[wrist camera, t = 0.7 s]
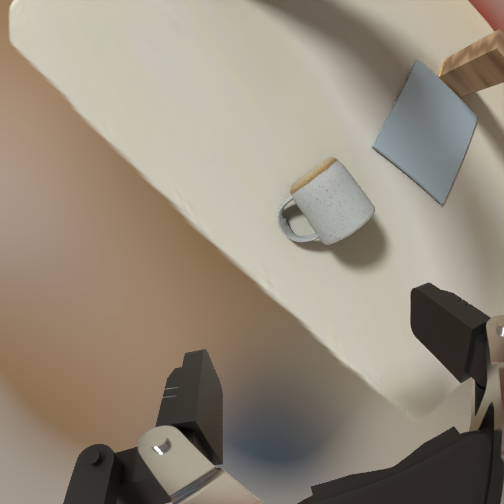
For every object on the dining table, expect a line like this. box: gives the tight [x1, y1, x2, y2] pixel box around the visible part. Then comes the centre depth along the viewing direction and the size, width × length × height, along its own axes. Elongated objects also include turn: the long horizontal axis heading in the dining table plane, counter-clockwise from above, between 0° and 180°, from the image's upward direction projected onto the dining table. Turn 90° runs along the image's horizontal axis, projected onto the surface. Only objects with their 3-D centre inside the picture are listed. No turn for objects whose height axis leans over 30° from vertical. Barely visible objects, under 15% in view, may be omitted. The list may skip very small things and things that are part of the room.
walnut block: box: [438, 30, 504, 98], centre depth 25 cm, size 5×5×15 cm
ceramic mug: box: [278, 157, 375, 245], centre depth 33 cm, size 11×8×8 cm
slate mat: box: [372, 60, 478, 205], centre depth 34 cm, size 18×14×1 cm
